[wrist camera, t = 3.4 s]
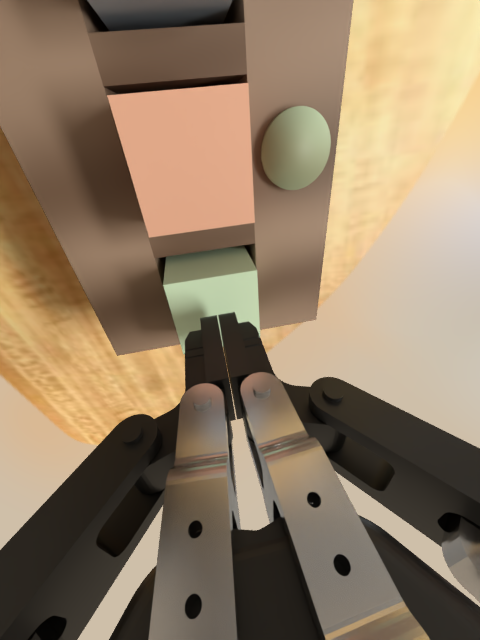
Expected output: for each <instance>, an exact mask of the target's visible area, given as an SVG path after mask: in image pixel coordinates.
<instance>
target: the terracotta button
mask: <svg viewBox="0 0 480 640" xmlns="http://www.w3.org/2000/svg"><path fill="white" fill-rule="evenodd" d="M107 97H108V100H109V103H110V107H111V110H112V114H113V117H114V120H115V124H116V127H117V131H118V134H119V137H120V141H121V144H122V147H123V151H124V154H125V158H126V161H127V164H128V168H129V171H130V175H131V178H132V181H133V185H134V188H135V192H136V195H137V198H138V202H139V205H140V209H141V212H142V215H143V219H144V222H145V225H146V229H147V232H148V236H149V238H150V237H157V236H164V235H171V234H178V233H185V232H192V231H200V230H207V229H214V228H221V227H228V226H235V225H242V224H249V223H255V213H254V192H253V170H252V149H251V127H250V106H249V84H248V83H241V84H230V85H219V86H208V87H196V88H185V89H174V90H163V91H151V92H140V93H129V94H117V95H107Z"/></svg>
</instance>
